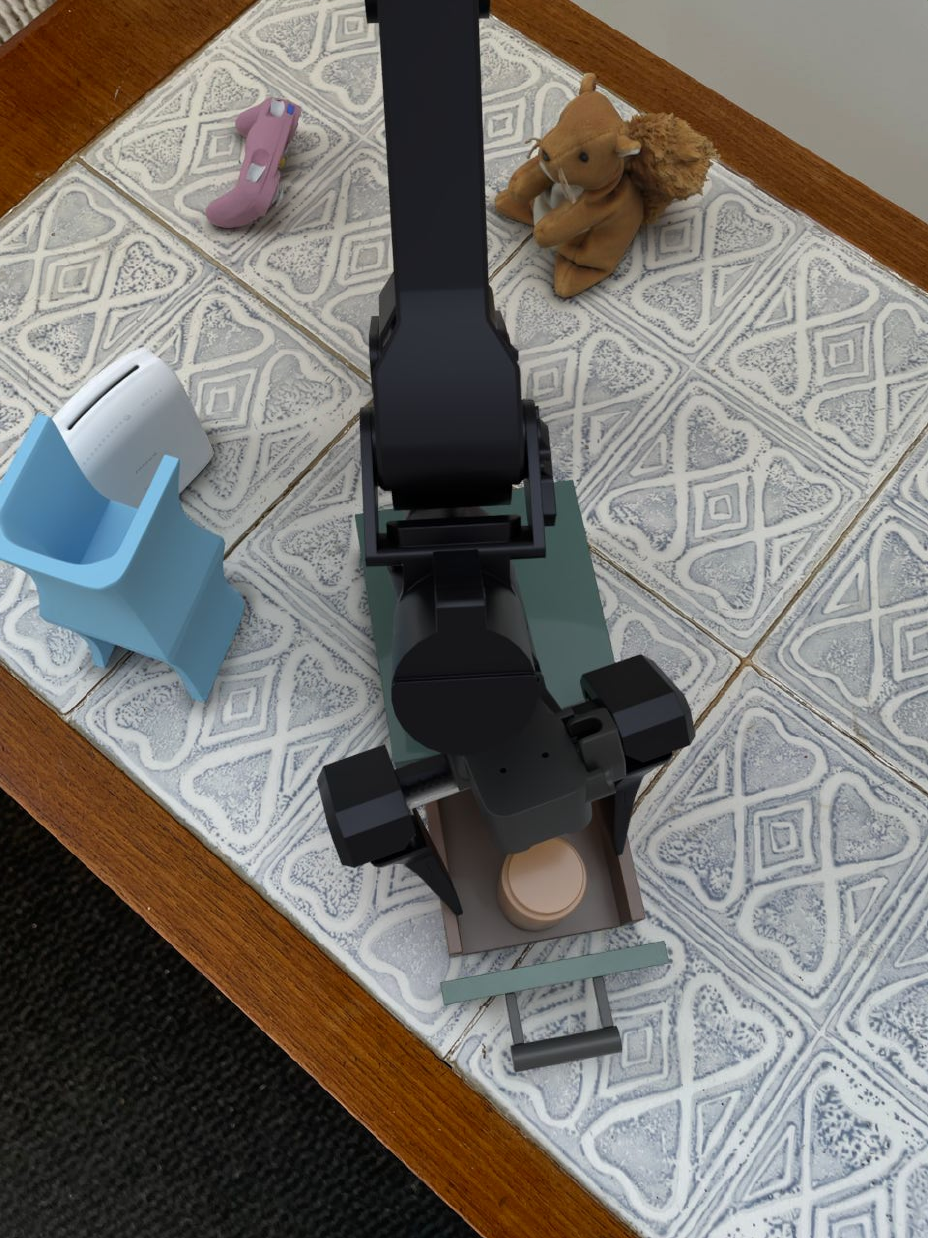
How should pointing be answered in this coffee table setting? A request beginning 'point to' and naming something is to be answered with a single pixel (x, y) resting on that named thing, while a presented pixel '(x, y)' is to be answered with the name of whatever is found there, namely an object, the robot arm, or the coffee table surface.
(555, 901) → the tan lidded cylinder
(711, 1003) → the coffee table surface
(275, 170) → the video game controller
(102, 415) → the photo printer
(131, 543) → the light blue toy chair
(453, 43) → the robot arm
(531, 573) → the cabinet
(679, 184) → the stuffed squirrel
